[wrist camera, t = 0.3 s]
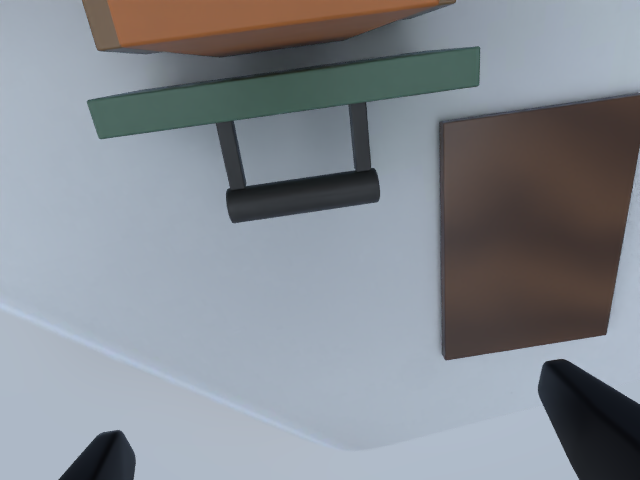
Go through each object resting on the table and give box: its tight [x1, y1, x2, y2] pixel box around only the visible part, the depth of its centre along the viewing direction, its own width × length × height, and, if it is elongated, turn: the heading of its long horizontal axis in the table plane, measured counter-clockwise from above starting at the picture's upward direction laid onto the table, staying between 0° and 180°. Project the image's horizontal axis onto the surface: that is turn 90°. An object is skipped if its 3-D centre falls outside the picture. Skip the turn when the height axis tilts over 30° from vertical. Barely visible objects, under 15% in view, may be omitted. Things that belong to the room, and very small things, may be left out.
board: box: [440, 93, 640, 360], centre depth 23 cm, size 14×10×1 cm
